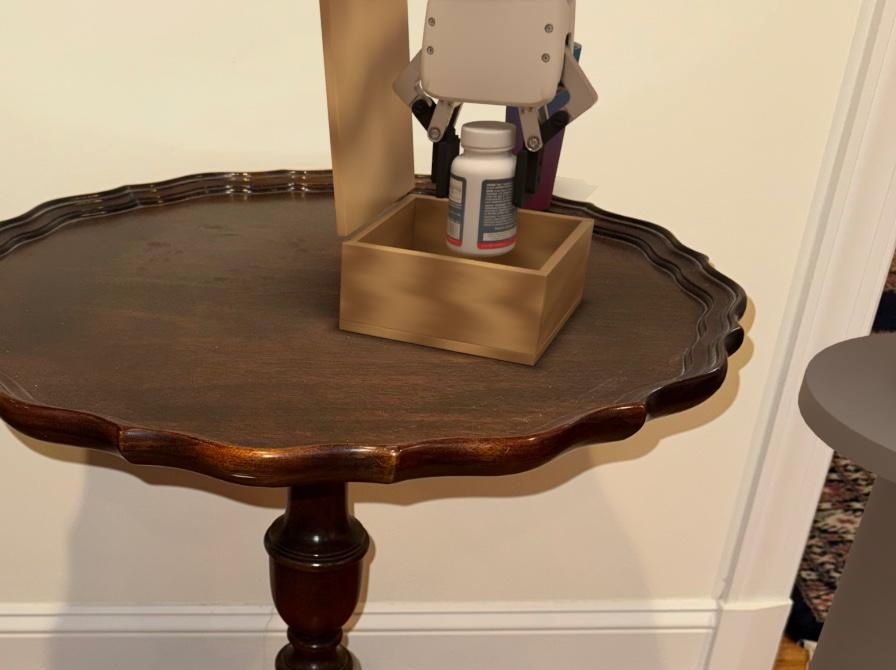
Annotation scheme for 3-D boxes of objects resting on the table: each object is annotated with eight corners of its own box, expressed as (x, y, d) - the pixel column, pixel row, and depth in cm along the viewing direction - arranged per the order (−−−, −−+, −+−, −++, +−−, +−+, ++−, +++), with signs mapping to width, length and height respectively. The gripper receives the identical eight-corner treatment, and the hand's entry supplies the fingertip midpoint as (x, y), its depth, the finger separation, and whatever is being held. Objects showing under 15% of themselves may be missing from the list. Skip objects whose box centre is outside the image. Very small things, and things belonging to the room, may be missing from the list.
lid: (406, -36, 85) (396, -35, 86) (328, -13, 75) (317, -12, 75) (415, 187, 94) (406, 187, 95) (346, 236, 83) (337, 236, 84)
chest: (581, 301, 93) (594, 218, 89) (533, 366, 83) (546, 275, 79) (405, 272, 99) (410, 193, 95) (338, 329, 88) (341, 242, 84)
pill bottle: (523, 242, 88) (536, 122, 83) (501, 262, 84) (513, 137, 79) (459, 233, 90) (468, 115, 85) (435, 252, 86) (443, 129, 81)
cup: (486, 210, 114) (503, 47, 105) (498, 192, 119) (515, 35, 110) (553, 217, 112) (577, 52, 103) (562, 199, 117) (586, 40, 109)
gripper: (648, -84, 74) (608, 198, 85) (405, -88, 80) (395, 175, 91) (624, -75, 69) (584, 225, 79) (365, -80, 75) (359, 199, 85)
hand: (483, 195), depth 85 cm, fingers closed on pill bottle, 5 cm apart
